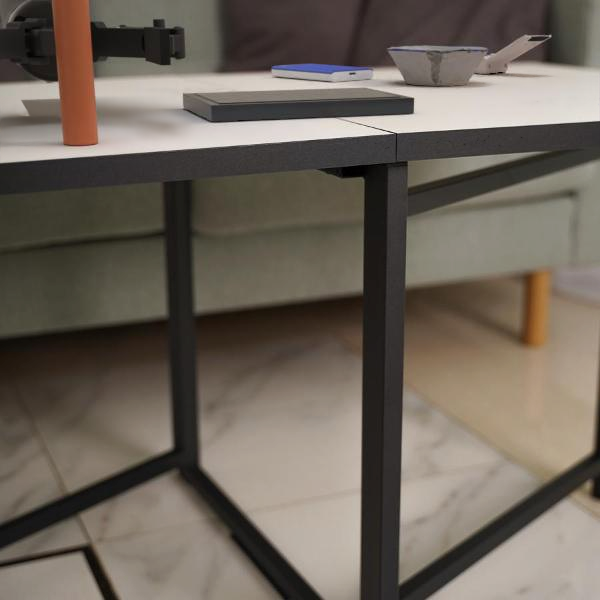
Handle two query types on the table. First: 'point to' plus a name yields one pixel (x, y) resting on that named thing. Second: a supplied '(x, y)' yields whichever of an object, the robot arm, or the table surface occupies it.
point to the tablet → (296, 104)
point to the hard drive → (322, 72)
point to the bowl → (437, 64)
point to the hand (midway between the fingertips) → (74, 48)
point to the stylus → (75, 71)
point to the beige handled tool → (509, 54)
